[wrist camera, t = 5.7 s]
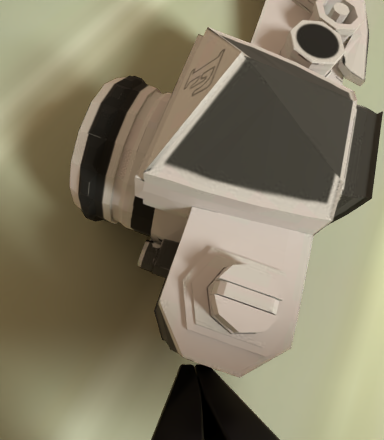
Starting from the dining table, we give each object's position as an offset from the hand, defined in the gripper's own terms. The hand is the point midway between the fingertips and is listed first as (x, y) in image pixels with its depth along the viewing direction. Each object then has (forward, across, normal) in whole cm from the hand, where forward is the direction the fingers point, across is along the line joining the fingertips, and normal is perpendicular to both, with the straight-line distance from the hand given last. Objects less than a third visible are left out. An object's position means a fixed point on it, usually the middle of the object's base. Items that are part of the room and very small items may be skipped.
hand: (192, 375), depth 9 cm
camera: (+9, +1, +4) cm, 10 cm away
